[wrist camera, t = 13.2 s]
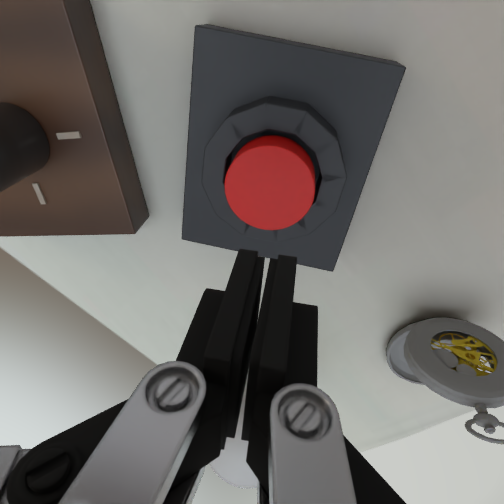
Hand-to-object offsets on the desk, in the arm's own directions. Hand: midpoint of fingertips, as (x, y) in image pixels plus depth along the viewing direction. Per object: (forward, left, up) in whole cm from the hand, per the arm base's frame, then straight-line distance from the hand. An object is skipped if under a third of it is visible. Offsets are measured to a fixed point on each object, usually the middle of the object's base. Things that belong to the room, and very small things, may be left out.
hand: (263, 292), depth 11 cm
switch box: (0, -1, -13) cm, 13 cm away
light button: (0, -1, -10) cm, 10 cm away
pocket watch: (+13, +13, -14) cm, 23 cm away
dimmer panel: (0, -16, -13) cm, 21 cm away
